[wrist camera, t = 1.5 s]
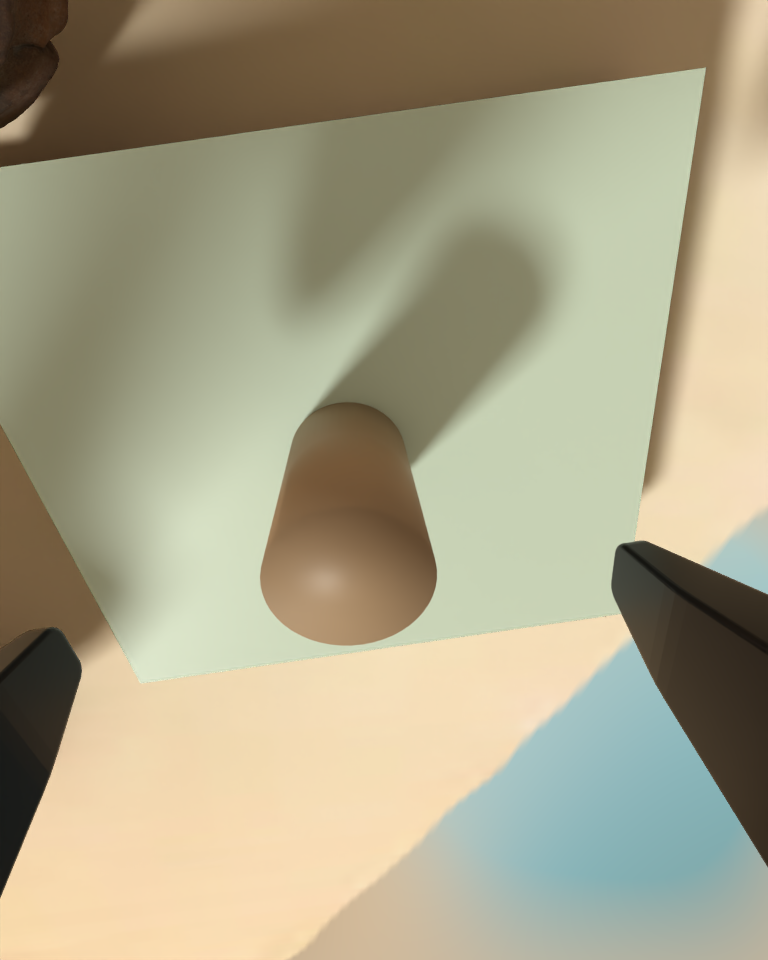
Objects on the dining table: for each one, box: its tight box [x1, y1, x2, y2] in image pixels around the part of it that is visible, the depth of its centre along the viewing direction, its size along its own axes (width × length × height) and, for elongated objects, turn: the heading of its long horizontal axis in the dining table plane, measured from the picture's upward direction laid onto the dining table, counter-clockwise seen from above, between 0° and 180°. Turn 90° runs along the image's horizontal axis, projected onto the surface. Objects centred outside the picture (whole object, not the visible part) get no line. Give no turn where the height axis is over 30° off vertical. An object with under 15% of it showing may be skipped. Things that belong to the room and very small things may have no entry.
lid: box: [0, 68, 706, 683], centre depth 12 cm, size 14×16×8 cm
